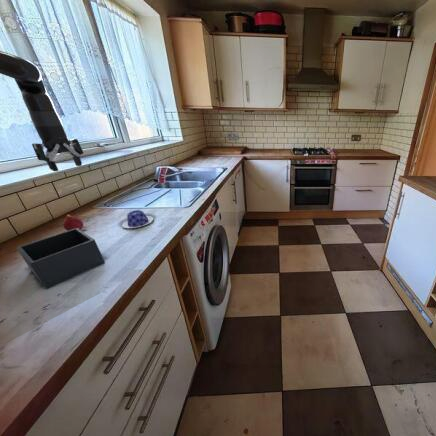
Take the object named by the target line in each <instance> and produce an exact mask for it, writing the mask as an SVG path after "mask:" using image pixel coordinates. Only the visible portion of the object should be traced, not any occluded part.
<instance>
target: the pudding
mask: <svg viewBox="0 0 436 436" xmlns="http://www.w3.org/2000/svg"><path fill="white" fill-rule="evenodd" d="M153 221H154V217H153V216H150V215H146V213H145V212H144V211H143V210H140V209H138V210H132V211H130V212H128V213H127V216H126V220H125V221H124V222H122V224H121V226H122V228H124V229H136V228H140V227H143V226H147V225H149V224H151V223H152V222H153Z"/></svg>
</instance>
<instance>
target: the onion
mask: <svg viewBox="0 0 436 436" xmlns="http://www.w3.org/2000/svg"><path fill="white" fill-rule="evenodd" d="M62 226H63V228H64V229H65V230H66V231H69V230H72V229H75V228H78V229H80V230H81V231H82V229H83V227H84V222H83V220H82V219H80V218H79V217H76V216H72V215H70V214H67V215H66V218H65V219H64V220H63V223H62Z"/></svg>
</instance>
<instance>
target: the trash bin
mask: <svg viewBox="0 0 436 436" xmlns="http://www.w3.org/2000/svg"><path fill="white" fill-rule="evenodd" d="M16 250H17V251H18V252H19V254H20V256H21V258H23V261H24V262H25V264H26V265H27V267H28V268H29V269H30V271H31V272H32V274H33V275H34V276H35V277H36V278H37V279H38V281H39V282H40V284H41V285H43V287H44V288H45V290H47V289H50V288H51V287H54V286H56V285H58V284H61V283H62V282H63V283H64V282H65V281H67V280H69V279H71V278H73V277H76V276H79V275H81V274H82V273H85V272H87V271H89V270H91V269H93V268H96V267H98V266H100V265H103V264H105V263H106V262H105V259H104V257H103V254H102V253H101V251H100V248H99V246H98V243H97V242H96V239H94V238H93V237H91V236H90V235H89V234H87V233H86V232H84V231H82V229H81V230H80V229H78V228H75V229H72V230H69V231H68V230H66V231H62V232H60V233H57V234H54V235H53V234H52V235H50V236H48V237H45V238H42V239H38V240H35V241H32V242H29V243H25V244H23V245H20V246H17V247H16Z"/></svg>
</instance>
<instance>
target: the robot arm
mask: <svg viewBox="0 0 436 436" xmlns="http://www.w3.org/2000/svg"><path fill="white" fill-rule="evenodd" d="M0 75H4V76H5V77H8V78H12V79H14V81H15V83H16V85H17V87H18V89H19V91H20V92H21V93H20V94H21V97H22V100H23V102H24V104H25V106H26V109H27V111H28V114H29V117H30V119H31V122H32V124H33V126H34V129H35V131H36V132H37V135H38V137H39V139H40V140H41V143H35V142H34V143H32V144H31V146H32V148H33V151H34V154H35V155H36V158H37V160H38V161H44V162H45V163H46V164H47V166H48V167H49V169H50V171H52V172H59V168H58V166H57V163H56V161H55V157H56V156H57V154H62V153H67V154H69V155H70V156H72V160H73V162H74V165H75V166H77V167H81V166H82V164H83V161H82V160H81V157H80V156H81V155H84V151H83V149H82V146H81V144H80V142H79V140H78V139H77V138H70V139H69V138H68V135H67V132H66V130H65V127H64V124H63V122H62V120H61V117H60V116H59V114H58V113H57V110H56V108H55V106H54V103H53V100H52V99H51V97H50V95H49V94H48V92H47V89H46V86H45V84H44V80H43V78H42V74H41V71H40V69H39V68H38V67H37V66H36V65H35V64H34V63H33V62H31V61H29V60H27V59H25V58H23V57H19V56H17V55H14V54H11V53H8V52H5V51H2V50H0ZM71 146H72V147H71ZM44 149H46V150H45V151H44Z"/></svg>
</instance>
